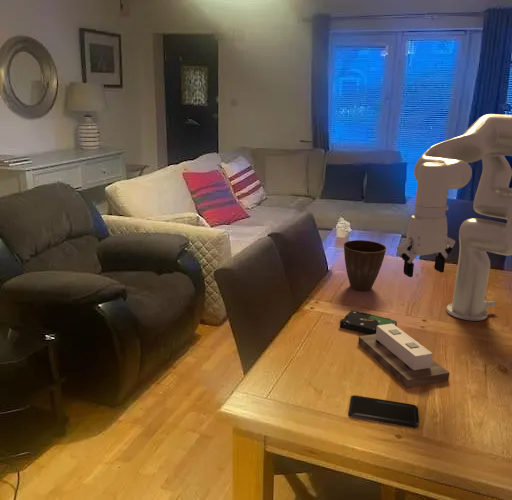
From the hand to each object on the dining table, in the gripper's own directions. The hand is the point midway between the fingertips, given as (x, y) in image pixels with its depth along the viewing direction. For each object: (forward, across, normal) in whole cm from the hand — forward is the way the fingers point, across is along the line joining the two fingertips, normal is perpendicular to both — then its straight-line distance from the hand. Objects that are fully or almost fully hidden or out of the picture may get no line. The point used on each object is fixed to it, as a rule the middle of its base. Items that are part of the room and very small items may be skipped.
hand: (423, 273), depth 138 cm
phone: (+21, +26, +24) cm, 41 cm away
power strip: (+22, +9, +5) cm, 24 cm away
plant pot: (+24, -8, -46) cm, 52 cm away
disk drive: (+23, +6, -15) cm, 29 cm away
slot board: (+22, +9, +5) cm, 24 cm away
